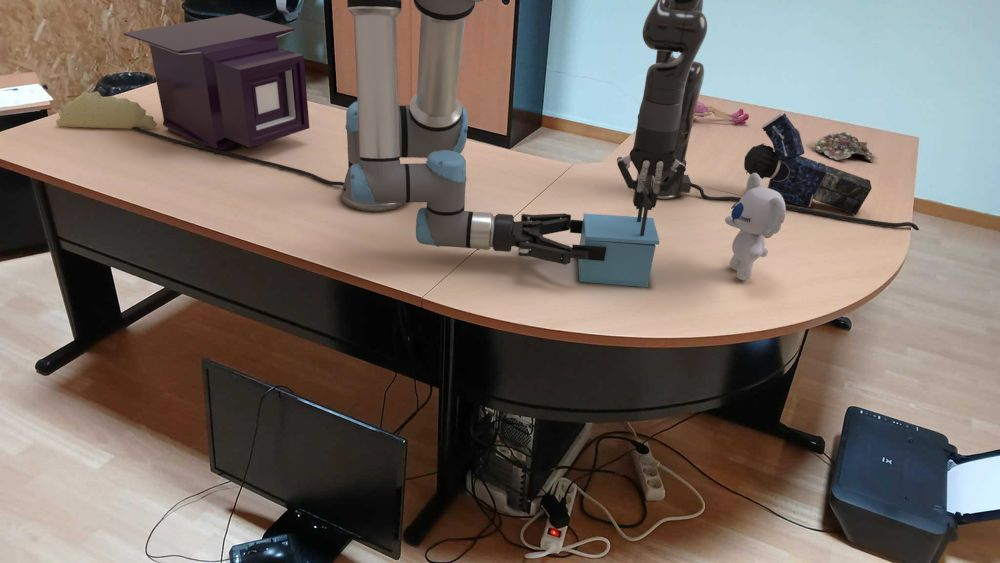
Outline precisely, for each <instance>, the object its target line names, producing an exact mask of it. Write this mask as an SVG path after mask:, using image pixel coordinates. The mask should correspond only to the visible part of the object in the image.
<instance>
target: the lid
mask: <svg viewBox="0 0 1000 563" xmlns="http://www.w3.org/2000/svg"><path fill="white" fill-rule="evenodd" d="M650 207H651V202H650V198H649V194H648V190H647V188H646V187H643V196H642V202H641V208H640V209H638V210H637V216H632V215H631V216H629V215H613V214H598V213H597V214H596V213H583V218H584V229H585V240H594V241H610V242H625V243H641V244H655V245H657V246H658V245H660V238H659V235H658V234H659V233H658V231H657V227H656V223H655V219H654V217H648V212H649V210H648V209H649V208H650Z"/></svg>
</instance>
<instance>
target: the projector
mask: <svg viewBox="0 0 1000 563" xmlns="http://www.w3.org/2000/svg"><path fill="white" fill-rule="evenodd" d="M294 31H295V28H294V27H292V26H287V25H283V24H279V23H276V22H272V21H269V20H264V19H262V18H259V17H256V16H255V17H254V16H252V15H247V14H244V13H235V14H230V15H224V16H217V17H212V18H205V19H200V20H194V21H188V22H181V23H175V24H169V25H163V26H157V27H151V28H146V29H145V28H144V29H139V30H134V31H128V32H123V36H125V37H127V38H130V39H133V40H136V41H138V42H142V43H145V44H148V45H149V50H150V54H151V60H152V66H153V71H154V75H155V76H154V77H155V82H156V87H157V92H158V97H159V102H160V107H161V113H162V118H163V122H162V126H163V127H165V128H166V129H167V131H168V132H170V133H172V134H175V135H177V136H179V137H182V138H184V139H187V140H189V141H191V142H193V143H195V144H197V145H200V146H204V147H208V148H212V149H217V150H221V151H225V152H227V151H229V150H233V149H235V148H237V144H240V145H242V146H245V147H247V148H249V149H250V148H253V147H256V146H259V145H262V144H266V143H269V142H271V141H275V140H278V139H281V138H285V137H287V136H289V135H293V134H296V133H300V132H302V131H305V130H308V129H310V118H309V105H308V94H307V93H308V92H307V80H306V79H307V78H306V68H305V56H304V54H303V53H302V54H301V53H297V52H296V51H295V52H294V51H291V50H288V49H285V48H282V47H279V44H278V40H277V38H280V37H282V36H286V35H287V34H291V33H292V32H294Z"/></svg>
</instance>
